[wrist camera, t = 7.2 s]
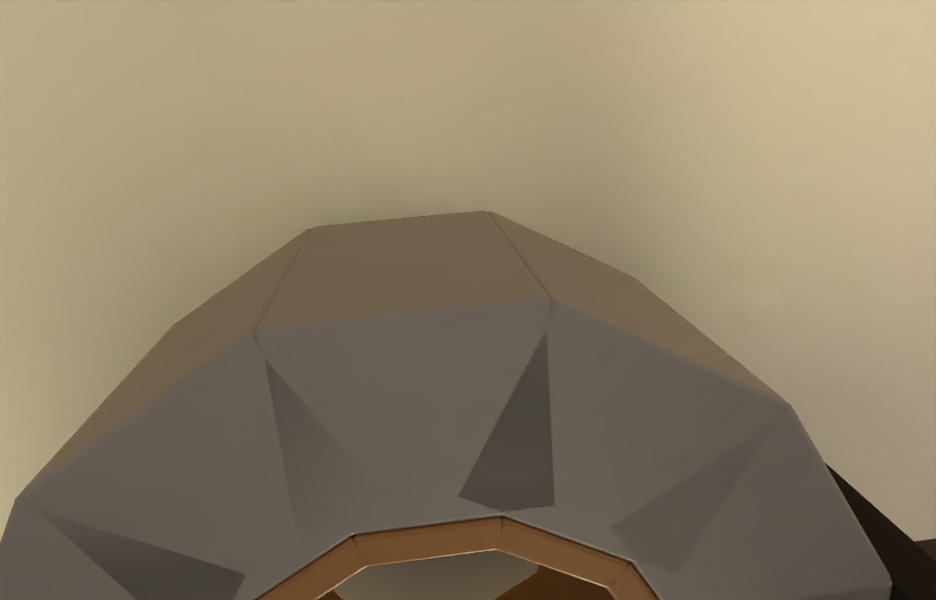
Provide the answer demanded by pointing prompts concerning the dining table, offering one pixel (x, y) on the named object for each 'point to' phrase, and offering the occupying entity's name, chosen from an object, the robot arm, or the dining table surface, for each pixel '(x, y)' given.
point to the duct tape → (437, 439)
